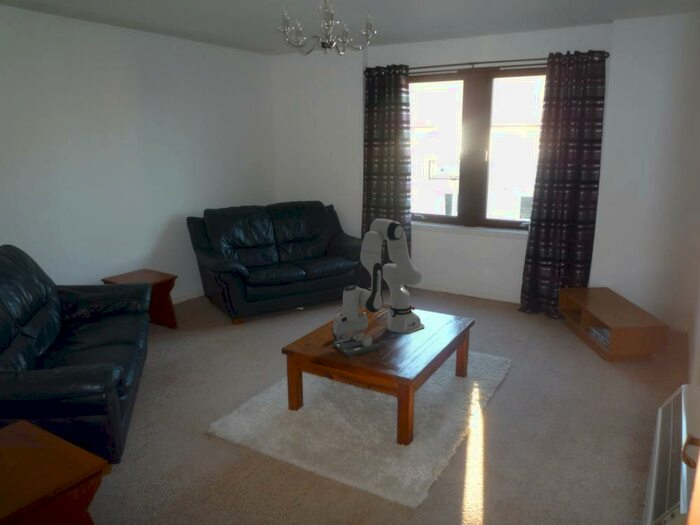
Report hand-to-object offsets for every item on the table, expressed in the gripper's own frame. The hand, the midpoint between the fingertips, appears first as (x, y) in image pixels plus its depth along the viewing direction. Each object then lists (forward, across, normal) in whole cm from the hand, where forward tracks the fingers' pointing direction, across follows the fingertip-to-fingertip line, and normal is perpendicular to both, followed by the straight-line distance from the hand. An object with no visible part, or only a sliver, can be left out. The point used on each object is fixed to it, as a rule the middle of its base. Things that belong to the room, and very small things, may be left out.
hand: (350, 339), depth 281 cm
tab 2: (+2, -6, +8) cm, 10 cm away
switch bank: (+4, -2, +4) cm, 6 cm away
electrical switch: (+4, +1, -11) cm, 12 cm away
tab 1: (+2, -6, 0) cm, 6 cm away
